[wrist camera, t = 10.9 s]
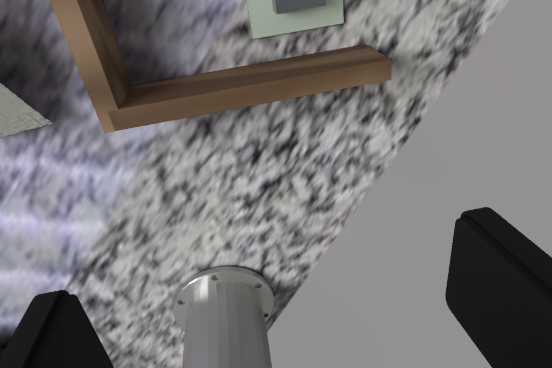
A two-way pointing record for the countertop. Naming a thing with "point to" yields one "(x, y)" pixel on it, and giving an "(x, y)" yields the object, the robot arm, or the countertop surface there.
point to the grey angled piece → (17, 114)
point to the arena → (199, 75)
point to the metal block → (295, 5)
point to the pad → (291, 18)
